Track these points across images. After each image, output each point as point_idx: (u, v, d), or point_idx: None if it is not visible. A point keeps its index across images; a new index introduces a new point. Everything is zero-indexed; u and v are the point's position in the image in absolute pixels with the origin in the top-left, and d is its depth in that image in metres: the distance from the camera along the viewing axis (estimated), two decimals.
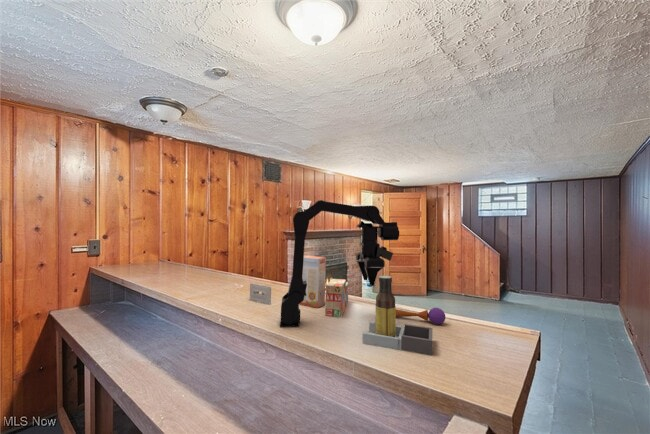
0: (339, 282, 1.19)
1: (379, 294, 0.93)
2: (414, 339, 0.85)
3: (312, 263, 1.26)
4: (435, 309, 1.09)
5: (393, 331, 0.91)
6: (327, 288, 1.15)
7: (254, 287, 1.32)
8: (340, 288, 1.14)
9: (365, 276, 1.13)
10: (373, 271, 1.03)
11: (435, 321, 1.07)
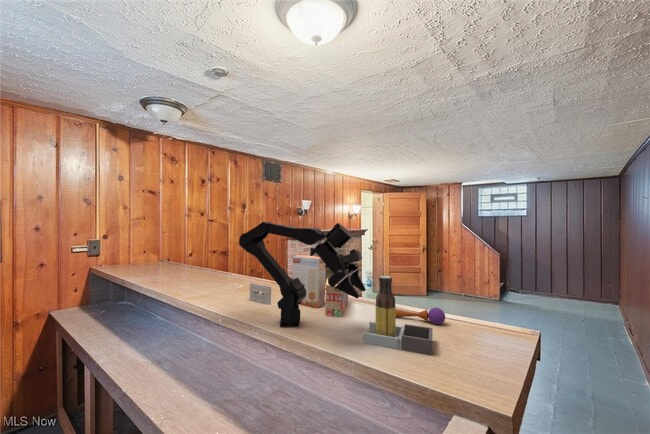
0: None
1: (379, 294, 0.93)
2: (414, 339, 0.85)
3: (312, 263, 1.26)
4: (435, 309, 1.09)
5: (393, 331, 0.91)
6: (327, 288, 1.15)
7: (254, 287, 1.32)
8: None
9: (361, 287, 1.01)
10: (346, 284, 0.92)
11: (435, 321, 1.08)
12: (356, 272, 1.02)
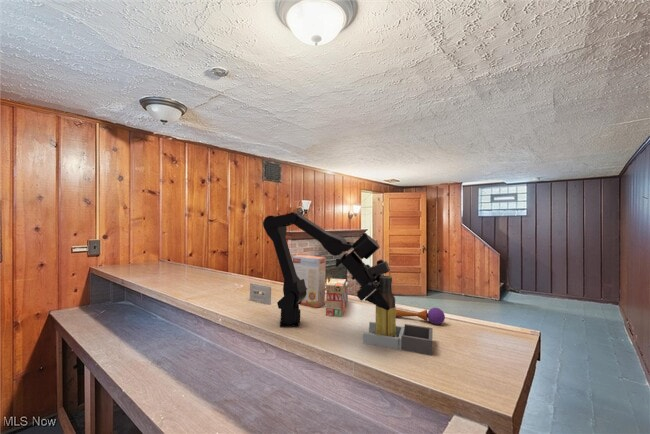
0: (339, 282, 1.20)
1: None
2: (414, 339, 0.85)
3: (312, 263, 1.26)
4: (434, 309, 1.09)
5: (393, 331, 0.91)
6: (328, 288, 1.15)
7: (254, 287, 1.32)
8: (341, 288, 1.14)
9: None
10: (376, 296, 0.90)
11: (434, 321, 1.07)
12: None
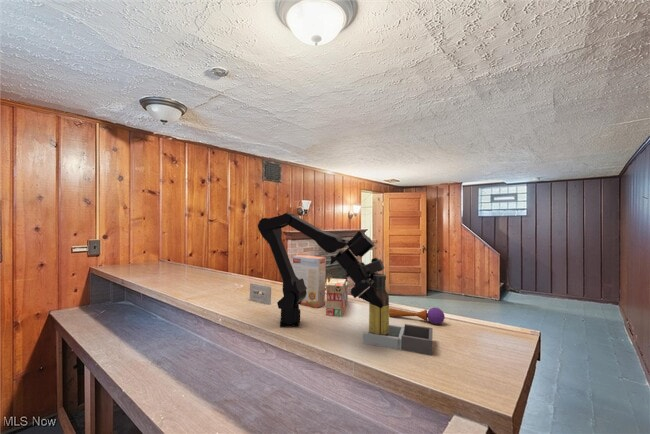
0: (339, 282, 1.20)
1: None
2: (414, 339, 0.85)
3: (312, 263, 1.26)
4: (434, 309, 1.09)
5: (386, 329, 0.92)
6: (328, 288, 1.15)
7: (254, 287, 1.32)
8: (341, 288, 1.14)
9: None
10: (370, 294, 0.91)
11: (434, 321, 1.08)
12: None
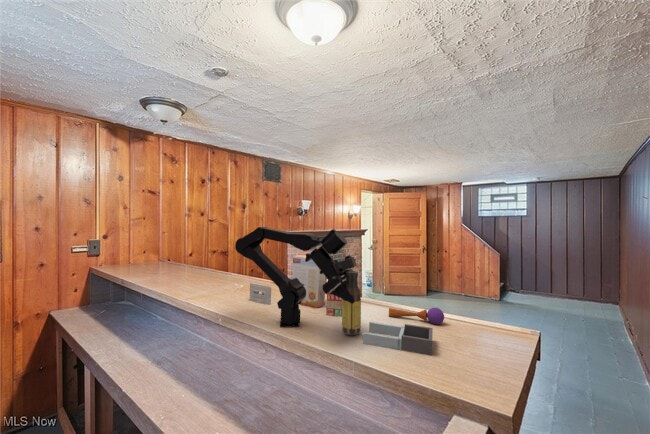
0: None
1: None
2: (414, 339, 0.85)
3: (312, 263, 1.26)
4: (434, 309, 1.09)
5: (358, 323, 0.95)
6: None
7: (254, 287, 1.32)
8: None
9: None
10: (342, 290, 0.94)
11: (434, 321, 1.08)
12: None
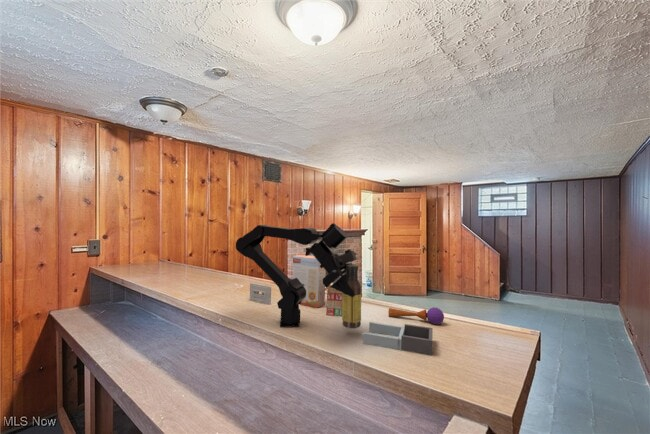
0: None
1: None
2: (414, 339, 0.85)
3: (312, 263, 1.26)
4: (433, 309, 1.09)
5: (358, 317, 0.95)
6: (328, 287, 1.16)
7: (254, 287, 1.32)
8: None
9: None
10: (342, 283, 0.94)
11: (433, 321, 1.08)
12: None
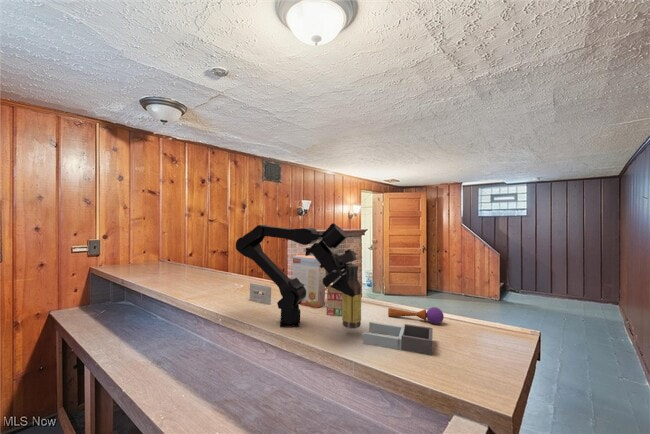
0: None
1: None
2: (414, 339, 0.85)
3: (312, 263, 1.26)
4: (433, 309, 1.09)
5: (358, 317, 0.95)
6: (328, 287, 1.16)
7: (254, 287, 1.32)
8: None
9: None
10: (342, 283, 0.94)
11: (433, 320, 1.08)
12: None
